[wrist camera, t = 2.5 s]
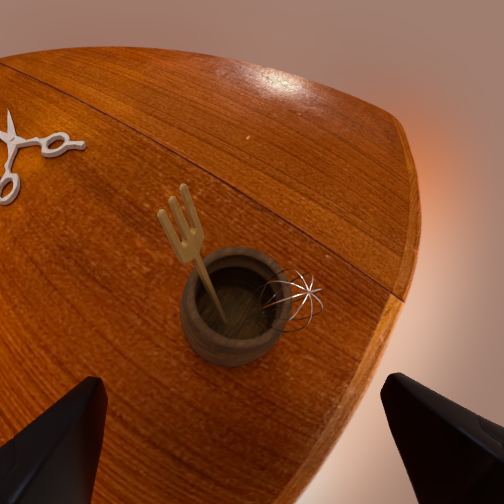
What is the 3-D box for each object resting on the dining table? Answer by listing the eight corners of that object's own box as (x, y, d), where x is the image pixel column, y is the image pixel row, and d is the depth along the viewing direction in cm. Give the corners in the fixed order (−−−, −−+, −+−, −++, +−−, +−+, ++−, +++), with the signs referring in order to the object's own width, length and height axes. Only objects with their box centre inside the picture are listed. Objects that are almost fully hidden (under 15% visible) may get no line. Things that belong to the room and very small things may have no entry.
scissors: (5, 214, 19) (-31, 140, 22) (9, 218, 19) (-29, 144, 22) (85, 142, 23) (24, 94, 26) (87, 147, 24) (26, 98, 27)
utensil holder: (247, 383, 18) (311, 380, 7) (164, 337, 18) (113, 269, 8) (284, 309, 21) (369, 221, 10) (207, 268, 21) (216, 143, 10)
